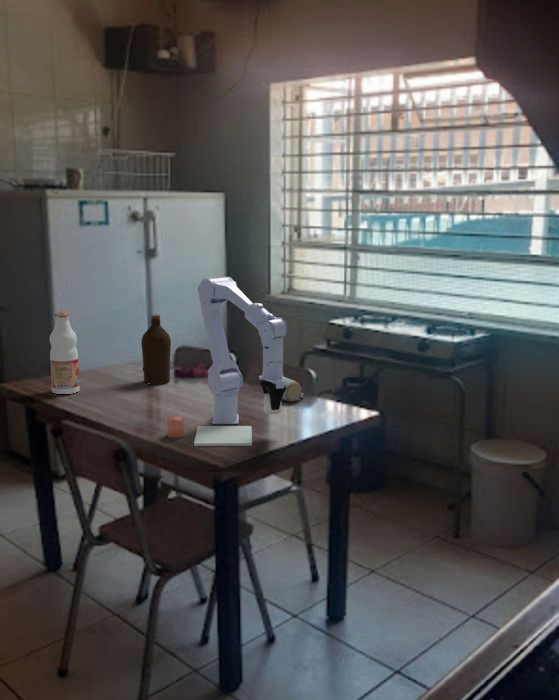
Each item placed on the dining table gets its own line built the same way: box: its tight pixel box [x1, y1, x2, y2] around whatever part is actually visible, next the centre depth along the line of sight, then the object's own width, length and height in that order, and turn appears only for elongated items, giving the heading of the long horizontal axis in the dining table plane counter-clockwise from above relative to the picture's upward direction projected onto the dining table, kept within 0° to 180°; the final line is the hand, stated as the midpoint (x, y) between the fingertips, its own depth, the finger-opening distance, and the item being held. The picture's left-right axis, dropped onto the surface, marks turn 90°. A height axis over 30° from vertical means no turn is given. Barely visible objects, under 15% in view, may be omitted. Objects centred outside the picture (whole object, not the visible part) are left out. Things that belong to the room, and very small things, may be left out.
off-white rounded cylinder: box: [263, 393, 282, 415], centre depth 218 cm, size 5×5×5 cm
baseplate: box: [193, 425, 253, 447], centre depth 218 cm, size 16×16×1 cm
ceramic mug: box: [281, 376, 304, 403], centre depth 259 cm, size 11×8×8 cm
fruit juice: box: [49, 311, 80, 395], centre depth 263 cm, size 9×9×28 cm
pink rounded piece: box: [166, 415, 185, 439], centre depth 219 cm, size 5×5×5 cm
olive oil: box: [141, 314, 172, 385], centre depth 279 cm, size 11×11×25 cm
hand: (272, 406), depth 219 cm, fingers closed on off-white rounded cylinder, 5 cm apart
